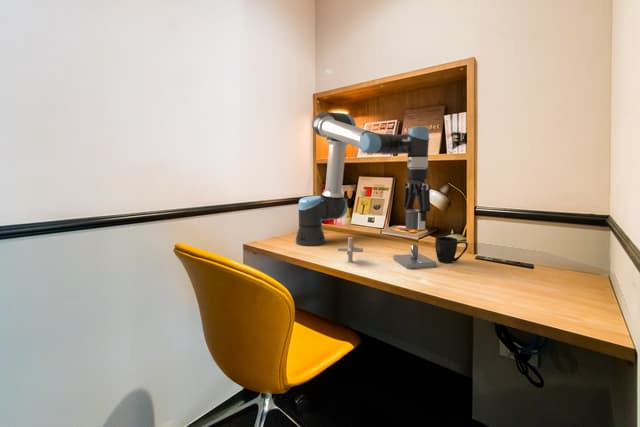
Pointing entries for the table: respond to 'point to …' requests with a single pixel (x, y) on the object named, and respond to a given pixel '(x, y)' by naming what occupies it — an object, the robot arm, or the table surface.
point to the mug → (447, 249)
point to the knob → (412, 219)
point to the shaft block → (414, 259)
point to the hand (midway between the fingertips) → (415, 227)
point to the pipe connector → (350, 249)
